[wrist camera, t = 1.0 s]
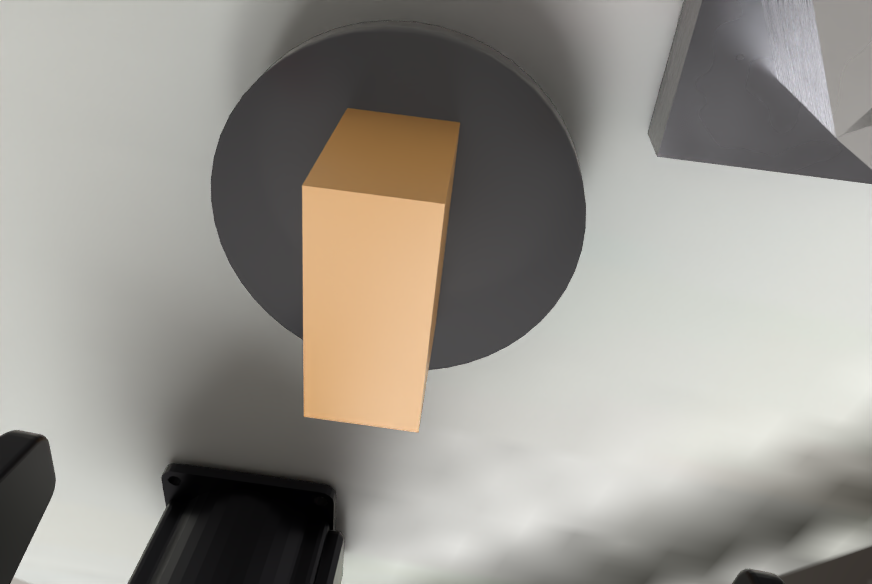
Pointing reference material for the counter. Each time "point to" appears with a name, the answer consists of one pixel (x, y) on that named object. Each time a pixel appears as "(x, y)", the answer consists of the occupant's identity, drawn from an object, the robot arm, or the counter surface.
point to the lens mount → (770, 87)
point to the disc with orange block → (397, 209)
